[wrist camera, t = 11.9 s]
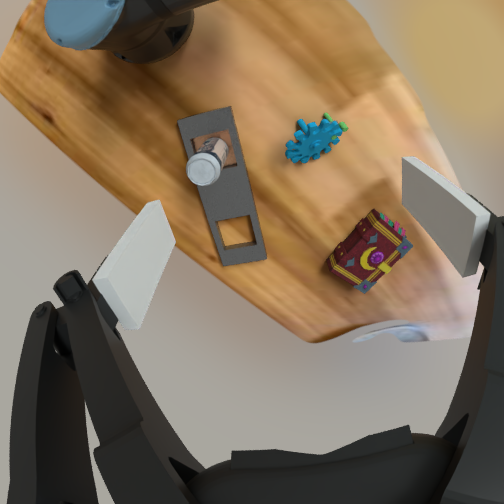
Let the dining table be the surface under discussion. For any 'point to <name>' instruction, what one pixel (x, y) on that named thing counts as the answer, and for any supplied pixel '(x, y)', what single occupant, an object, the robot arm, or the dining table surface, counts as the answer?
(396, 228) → the decorative book
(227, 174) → the rail
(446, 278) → the dining table surface
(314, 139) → the gear
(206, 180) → the beer can
